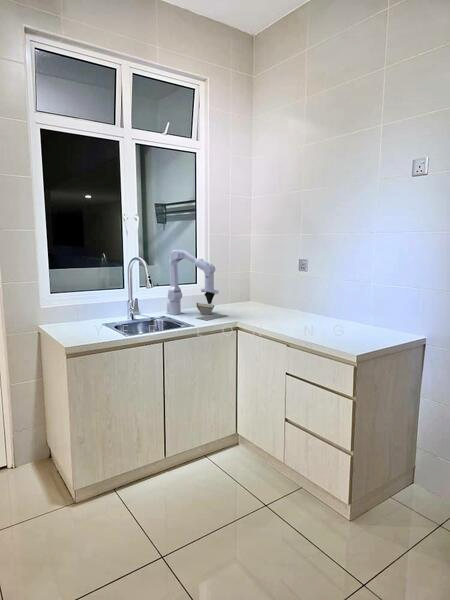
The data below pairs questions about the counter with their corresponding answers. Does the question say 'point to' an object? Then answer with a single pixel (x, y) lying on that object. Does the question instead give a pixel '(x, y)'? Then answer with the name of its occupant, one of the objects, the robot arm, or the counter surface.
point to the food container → (205, 308)
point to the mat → (212, 317)
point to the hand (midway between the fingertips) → (209, 303)
